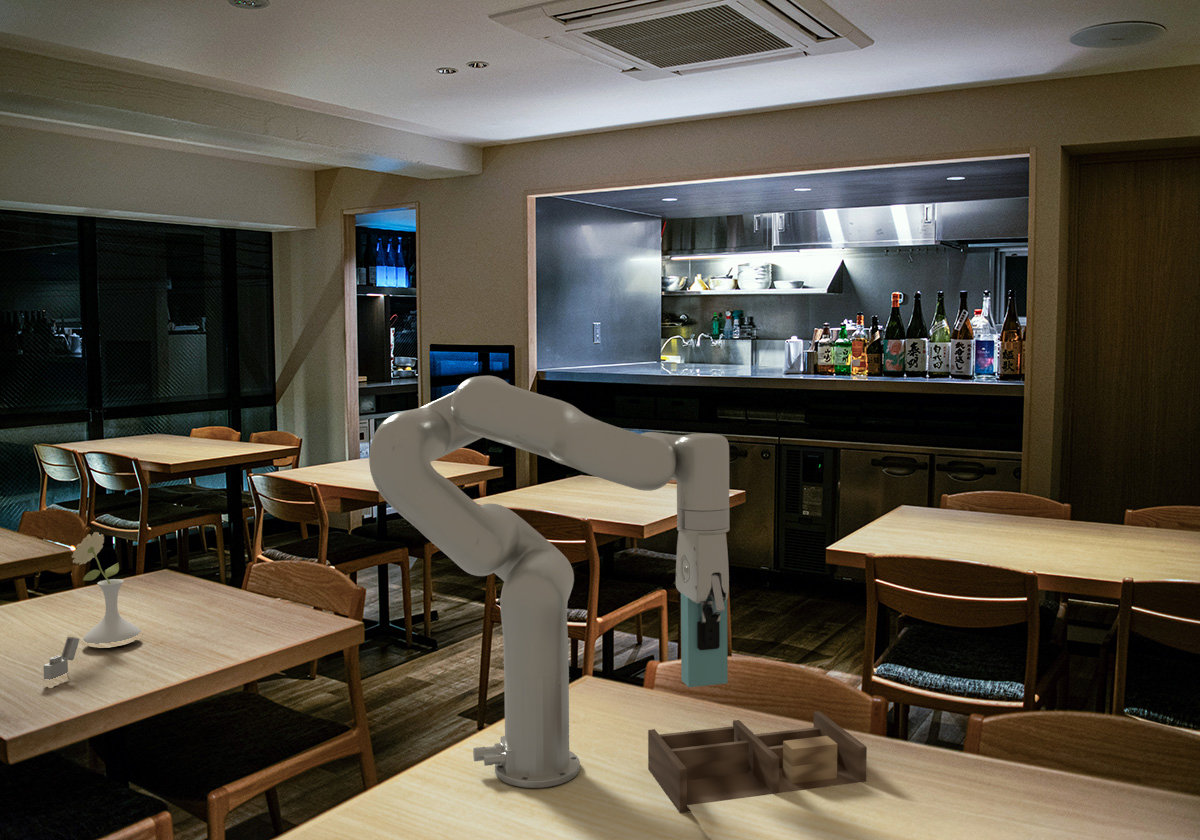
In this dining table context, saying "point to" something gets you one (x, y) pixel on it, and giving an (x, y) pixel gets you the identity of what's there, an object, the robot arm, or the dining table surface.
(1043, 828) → the dining table surface
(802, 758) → the offcut upper
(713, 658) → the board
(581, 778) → the dining table surface
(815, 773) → the offcut lower
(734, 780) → the rack
